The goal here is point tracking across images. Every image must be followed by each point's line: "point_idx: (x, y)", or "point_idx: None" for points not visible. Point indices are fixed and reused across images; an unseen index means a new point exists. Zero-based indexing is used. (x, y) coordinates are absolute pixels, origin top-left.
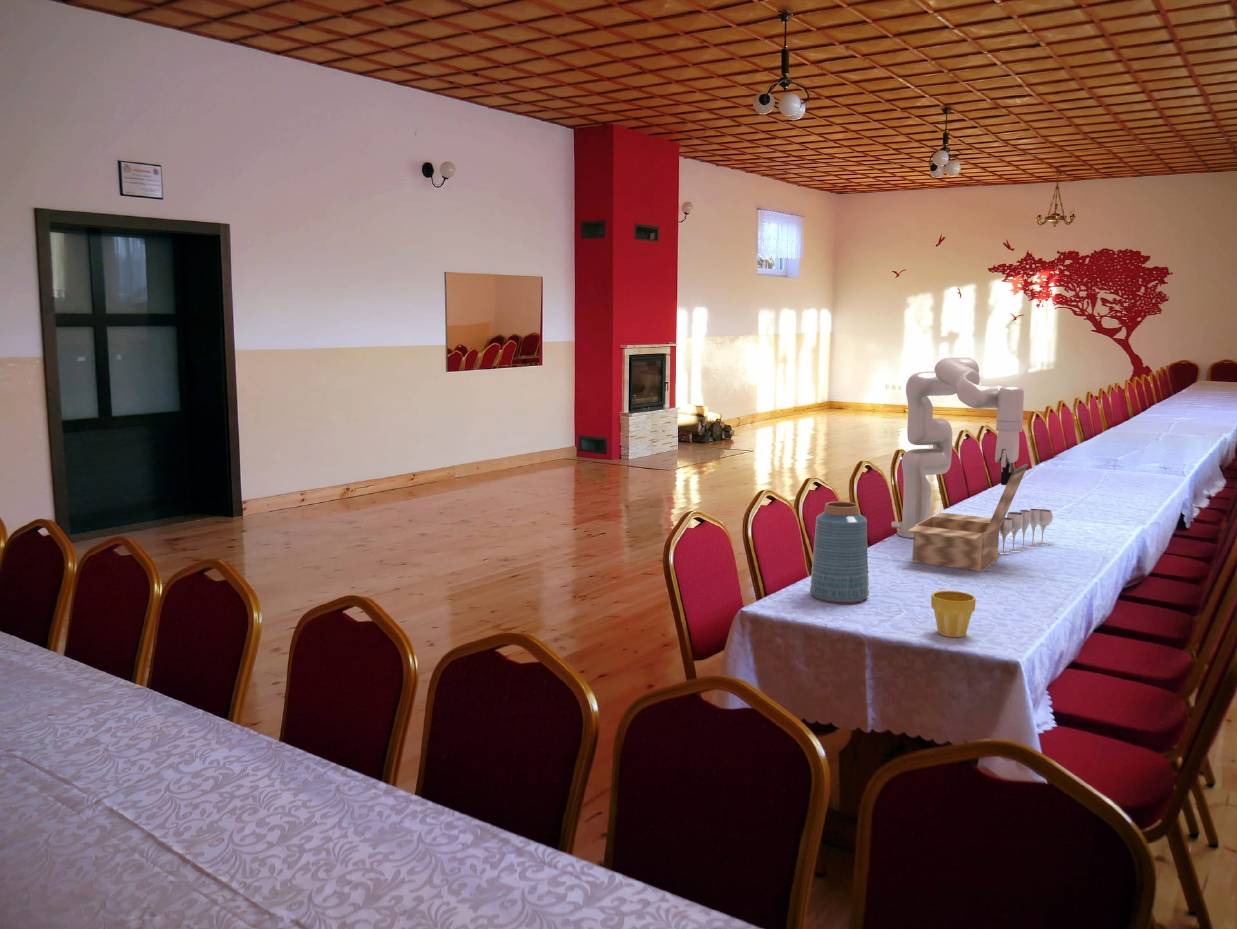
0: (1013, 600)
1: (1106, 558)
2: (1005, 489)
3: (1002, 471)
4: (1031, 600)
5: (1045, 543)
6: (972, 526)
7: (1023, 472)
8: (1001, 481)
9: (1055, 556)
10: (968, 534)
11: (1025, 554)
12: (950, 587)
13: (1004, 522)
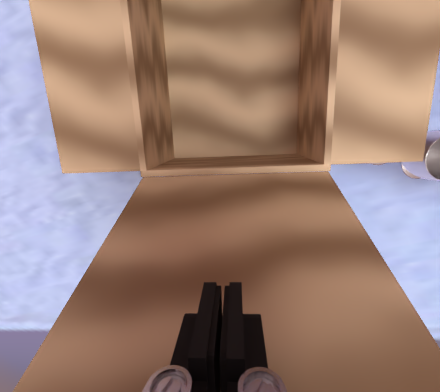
0: (19, 261)
1: (433, 334)
2: (48, 339)
3: (153, 385)
4: (40, 283)
5: None
6: (322, 77)
7: None
8: (201, 297)
9: (403, 252)
10: (98, 138)
11: (392, 195)
12: (13, 148)
13: (417, 161)
